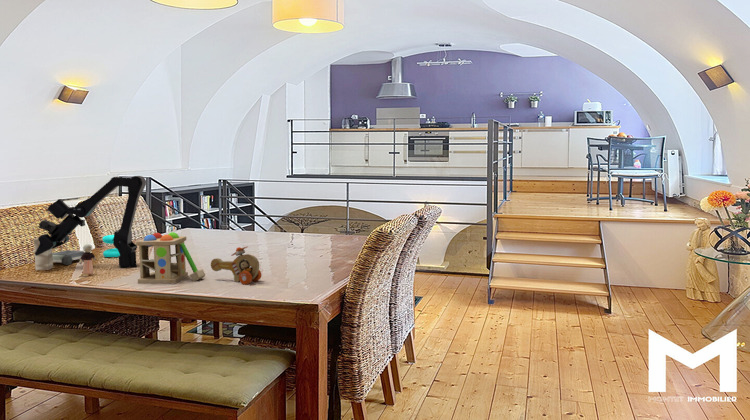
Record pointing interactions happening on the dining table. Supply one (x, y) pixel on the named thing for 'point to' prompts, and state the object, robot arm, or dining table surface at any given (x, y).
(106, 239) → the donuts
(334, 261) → the dining table surface
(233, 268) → the toy helicopter
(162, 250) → the pounding bench toy
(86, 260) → the grandmother figurine
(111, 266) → the dining table surface
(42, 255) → the beige stone block
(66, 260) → the chassis
